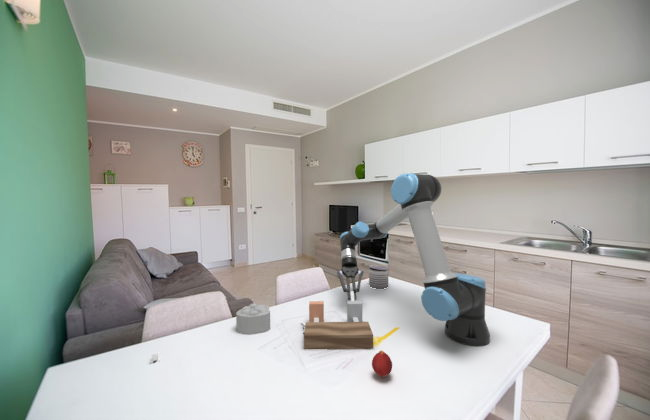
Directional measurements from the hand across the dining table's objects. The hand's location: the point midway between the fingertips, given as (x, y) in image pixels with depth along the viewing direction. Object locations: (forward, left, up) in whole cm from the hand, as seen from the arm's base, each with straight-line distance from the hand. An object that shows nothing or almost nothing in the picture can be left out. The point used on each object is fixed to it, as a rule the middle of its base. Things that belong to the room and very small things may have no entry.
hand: (352, 306), depth 117 cm
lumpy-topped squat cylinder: (+13, +40, -5) cm, 43 cm away
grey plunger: (-9, +5, -4) cm, 11 cm away
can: (+25, -38, -5) cm, 46 cm away
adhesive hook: (+9, +74, -6) cm, 75 cm away
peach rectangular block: (-1, +19, -4) cm, 19 cm away
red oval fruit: (-36, +16, -5) cm, 40 cm away
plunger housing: (-13, +17, -5) cm, 22 cm away
